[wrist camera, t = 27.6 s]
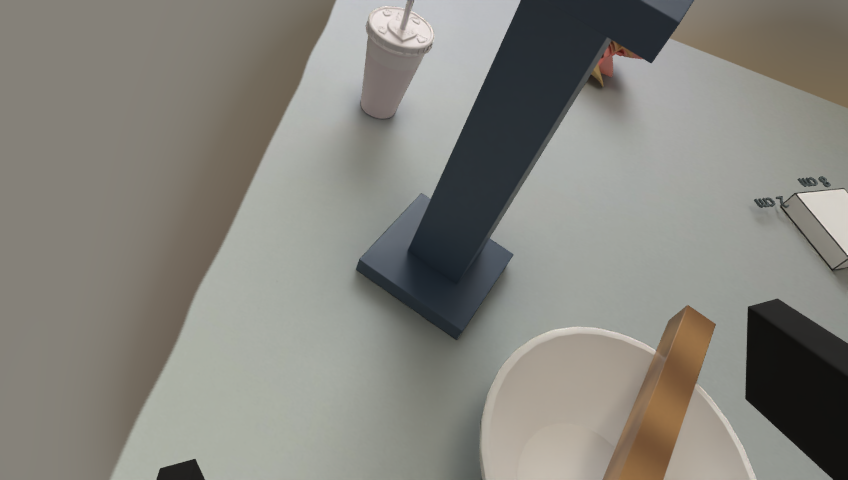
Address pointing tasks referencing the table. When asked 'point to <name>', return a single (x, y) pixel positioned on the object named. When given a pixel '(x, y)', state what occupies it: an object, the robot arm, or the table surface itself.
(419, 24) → the smoothie
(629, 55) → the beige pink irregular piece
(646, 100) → the table surface
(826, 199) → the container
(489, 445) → the bowl
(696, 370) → the stirring stick
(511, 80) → the lectern stand
